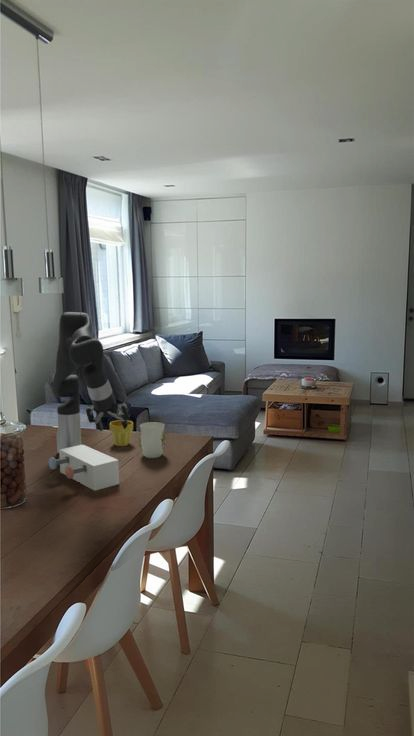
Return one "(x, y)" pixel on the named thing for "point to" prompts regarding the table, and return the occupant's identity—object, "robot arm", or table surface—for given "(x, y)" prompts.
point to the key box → (91, 467)
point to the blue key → (57, 462)
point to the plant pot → (121, 432)
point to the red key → (74, 471)
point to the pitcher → (152, 439)
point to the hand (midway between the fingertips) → (113, 428)
